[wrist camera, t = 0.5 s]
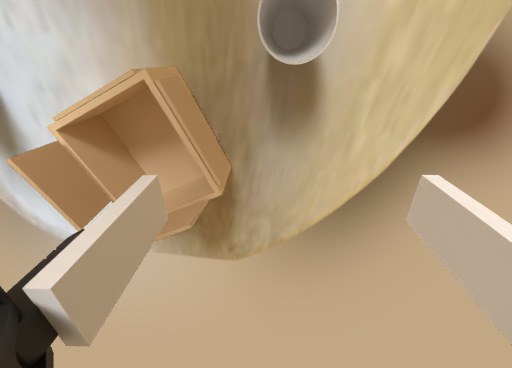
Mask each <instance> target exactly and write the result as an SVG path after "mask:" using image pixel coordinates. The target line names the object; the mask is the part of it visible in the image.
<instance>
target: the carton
mask: <svg viewBox="0 0 512 368" xmlns="http://www.w3.org/2000/svg"><path fill="white" fill-rule="evenodd" d="M52 118H53V119H54V120H55V121H56V122H54V123H53V124H51V125H49V126H48V127H47V128H48V130H49V131H50V132H51V133H52V134H53V135H54V136H55V137H56V139H57V140H58V141H59V142H60V143H61V144H62V145H63V147H64V148H65V149H66V150H67V151H68V152H69V153H70V155H71V156H72V157H73V158H74V159H75V160H76V161H77V162H78V164H79V165H80V166H81V167H82V168H83V169H84V170H85V172H86V173H87V174H88V175H89V176H90V177H91V178H92V179H93V181H94V182H95V183H96V184H97V185H98V186H99V187H100V189H101V190H102V191H103V192H104V193H105V194H106V195H107V196H108V198H109V199H110V200H111V201H112V202H113V203H114V202H115V201H116V200H117V199H118V198H119V197H120V196H121V195H122V194H123V193H125V192H126V191H127V190H128V189H129V188H130V187H131V186H132V185H133V184H134V183H135V182H136V181H137V180H138V179H139V178H141V177H142V176H143V175H158V179H159V183H160V187H161V191H162V195H163V199H164V203H165V207H166V211H167V214H168V213H171V212H174V211H176V210H179V209H181V208H184V207H186V206H189V205H191V204H194V203H196V202H199V201H201V200H204V199H206V198H207V199H208V200H210V199H213V198H215V197H218V196H220V195H222V194H223V191H224V188H225V185H226V182H227V179H228V176H229V173H230V170H231V167H232V166H231V164H230V163H229V161H228V159H227V157H226V155H225V154H224V152H223V150H222V148H221V146H220V145H219V143H218V141H217V139H216V137H215V136H214V134H213V132H212V130H211V128H210V127H209V125H208V123H207V121H206V119H205V118H204V116H203V114H202V112H201V110H200V109H199V107H198V105H197V103H196V101H195V100H194V98H193V96H192V94H191V92H190V91H189V89H188V87H187V85H186V83H185V82H184V80H183V78H182V76H181V75H180V73H179V71H178V69H177V67H176V66H175V67H161V68H146V69H132V70H130V71H128V72H127V73H125V74H124V75H122V76H120V77H119V78H117V79H115V80H114V81H112V82H110V83H109V84H107V85H105V86H104V87H102V88H100V89H99V90H97V91H95V92H94V93H92V94H90V95H89V96H87V97H86V98H84V99H82V100H81V101H79V102H77V103H76V104H74V105H72V106H71V107H69V108H67V109H66V110H64V111H62V112H61V113H59V114H57V115H56V116H54V117H52Z"/></svg>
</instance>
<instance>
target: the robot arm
mask: <svg viewBox="0 0 512 368" xmlns="http://www.w3.org/2000/svg"><path fill="white" fill-rule="evenodd" d="M167 220H168V215H167V211H166V207H165V203H164V199H163V195H162V191H161V187H160V183H159V179H158V175H143V176H142V177H141V178H139V179H138V180H137V181H136V182H135V183H134V184H133V185H132V186H131V187H130V188H129V189H128V190H127V191H126V192H125V193H123V194H122V195H121V196H120V197H119V198H118V199H117V200H116V201H115V202H114V203H113V204H112V205H111V206H110V207H108V208H107V209H106V210H105V211H104V212H103V213H102V214H101V215H100V216H99V217H98V218H97V219H96V220H95V221H94V222H92V223H91V224H90V225H89V226H88V227H87V228H86V229H82V230H80V231H78V232H77V233H75V234H73V235H71V236H70V237H68V238H67V239H66V240H65V241H64V242H62V243H61V244H60V245H59V246H58V247H57V248H56V250H53V251H52V252H51V253H50V254H49V255H48V256H47V258H46V259H43V260H42V261H41V262H40V263H39V264H38V265H37V266H36V267H35V268H34V269H33V270H31V271H30V272H29V273H28V274H27V275H26V276H24V277H23V278H22V279H21V280H20V281H19V282H18V283H17V284H16V285H14V286H13V287H12V288H11V289H10V290H9V291H8V292H7V293H6V292H5V291H4V290H3V289H2V288H1V286H0V368H53V355H54V354H53V351H52V348H51V346H50V345H51V344H52V342H53V341H54V340H55V338H56V337H57V336H59V337H60V338H61V340H62V341H63V342H64V344H65V345H66V346H90V345H91V343H92V341H93V340H94V338H95V336H96V335H97V333H98V332H99V330H100V328H101V327H102V325H103V324H104V322H105V320H106V319H107V317H108V315H109V314H110V312H111V310H112V309H113V307H114V306H115V304H116V302H117V301H118V299H119V297H120V296H121V294H122V293H123V291H124V289H125V288H126V286H127V284H128V283H129V282H130V280H131V278H132V277H133V275H134V273H135V272H136V270H137V269H138V267H139V265H140V264H141V262H142V261H143V259H144V257H145V256H146V254H147V252H148V251H149V249H150V248H151V246H152V244H153V243H154V241H155V240H156V238H157V236H158V235H159V233H160V231H161V230H162V228H163V227H164V225H165V223H166V222H167ZM406 222H407V223H408V224H409V225H410V227H411V228H412V229H413V230H414V231H415V232H416V234H417V235H418V236H419V237H420V238H421V239H422V241H423V242H424V243H425V244H426V245H427V246H428V248H429V249H430V250H431V251H432V252H433V253H434V255H435V256H436V257H437V258H438V259H439V260H440V262H441V263H442V264H443V265H444V266H445V267H446V269H447V270H448V271H449V272H450V273H451V275H452V276H453V277H454V278H455V279H456V280H457V281H458V283H459V284H460V285H461V286H462V287H463V289H464V290H465V291H466V292H467V293H468V294H469V296H470V297H471V298H472V299H473V300H474V301H475V303H476V304H477V305H478V306H479V307H480V308H481V310H482V311H483V312H484V313H485V314H486V315H487V317H488V318H489V319H490V320H491V321H492V322H493V324H494V325H495V326H496V327H497V328H498V329H499V331H501V333H502V334H503V335H504V336H505V338H506V339H507V340H508V341H509V342H510V344H511V345H512V225H511V224H509V223H508V222H506V221H505V220H504V219H502V218H500V217H499V216H498V215H496V214H495V213H493V212H492V211H490V210H489V209H487V208H486V207H484V206H483V205H481V204H480V203H479V202H477V201H475V200H474V199H473V198H471V197H470V196H468V195H467V194H465V193H464V192H462V191H461V190H459V189H458V188H456V187H455V186H453V185H452V184H451V183H449V182H447V181H446V180H445V179H443V178H442V177H440V176H439V175H422V176H421V179H420V182H419V185H418V188H417V190H416V193H415V196H414V198H413V201H412V204H411V207H410V210H409V213H408V215H407V218H406Z"/></svg>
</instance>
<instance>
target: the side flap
mask: <svg viewBox="0 0 512 368" xmlns="http://www.w3.org/2000/svg"><path fill="white" fill-rule="evenodd" d="M6 161H7V162H8V163H9V164H10V165H11V166H12V167H13V168H14V169H15V170H16V171H17V172H18V173H19V174H20V175H21V176H22V177H23V178H24V179H25V180H26V181H27V182H28V183H29V184H30V185H31V186H32V187H33V188H34V189H35V190H36V191H37V192H39V193H40V194H41V195H42V196H43V197H44V198H45V199H46V200H47V201H48V202H49V203H50V204H51V205H52V206H53V207H54V208H55V209H56V210H57V211H58V212H59V213H60V214H61V215H62V216H63V217H64V218H65V219H66V220H67V221H68V222H69V223H70V224H71V225H73V226H74V227H75V228H76V229H77V230H78V231H80V230H82V229H83V228H84V227H85V226H86V225H87V224H88V223H89V222H90V221H91V220H92V219H93V218H94V217H95V216H96V215H97V214H98V213H99V212H100V211H101V210H102V209H103V208H104V207H105V206H106V205H107V204H108V203H109V202H110V201H111V200H110V199H109V198H108V197H107V195H106V194H105V193H104V192H103V191H102V190H101V189H100V187H99V186H98V185H97V184H96V183H95V182H94V181H93V180H92V178H91V177H90V176H89V175H88V174H87V173H86V172H85V170H84V169H83V168H82V167H81V166H80V165H79V164H78V163H77V161H76V160H75V159H74V158H73V157H72V156H71V155H70V153H69V152H68V151H67V150H66V149H65V148H64V147H63V146H62V144H61V143H60V142H59V141H55V142H53V143H50V144H47V145H44V146H42V147H39V148H36V149H33V150H31V151H28V152H25V153H22V154H20V155H17V156H14V157H11V158H9V159H7V160H6Z"/></svg>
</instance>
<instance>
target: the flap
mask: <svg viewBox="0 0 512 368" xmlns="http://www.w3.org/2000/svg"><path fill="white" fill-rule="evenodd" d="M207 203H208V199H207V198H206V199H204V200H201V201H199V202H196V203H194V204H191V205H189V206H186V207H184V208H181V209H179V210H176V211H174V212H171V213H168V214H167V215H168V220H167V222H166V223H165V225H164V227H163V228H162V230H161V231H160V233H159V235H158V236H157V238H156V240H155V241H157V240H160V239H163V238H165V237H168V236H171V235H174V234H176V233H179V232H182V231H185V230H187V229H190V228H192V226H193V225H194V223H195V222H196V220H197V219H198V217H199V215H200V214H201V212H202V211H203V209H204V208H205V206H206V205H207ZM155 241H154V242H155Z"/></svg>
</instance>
